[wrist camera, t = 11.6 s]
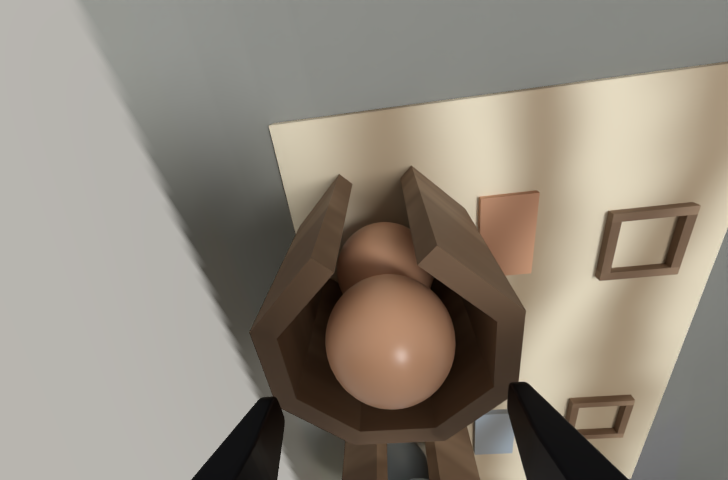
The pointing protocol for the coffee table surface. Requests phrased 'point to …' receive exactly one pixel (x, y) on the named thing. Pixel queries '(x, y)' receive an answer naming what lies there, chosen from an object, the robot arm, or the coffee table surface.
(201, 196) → the coffee table surface
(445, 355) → the terracotta ball
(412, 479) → the slate-blue ball
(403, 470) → the slate-blue ball in tube
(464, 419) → the cream wooden tray
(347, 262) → the terracotta ball in tube
